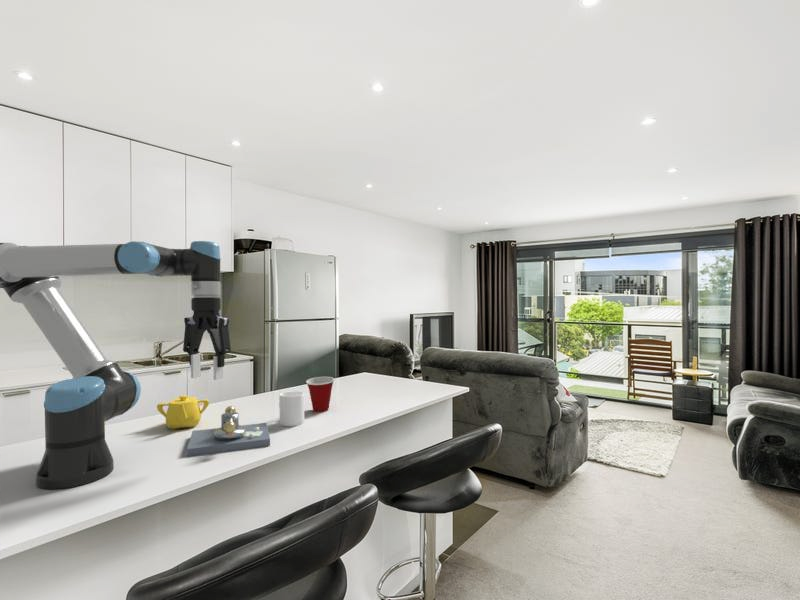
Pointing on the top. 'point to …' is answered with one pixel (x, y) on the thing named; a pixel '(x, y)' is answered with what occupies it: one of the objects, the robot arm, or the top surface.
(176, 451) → the top surface
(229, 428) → the grey lever with knob
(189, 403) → the yellow sugar bowl
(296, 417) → the cup
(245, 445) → the stand
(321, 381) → the plastic cup
